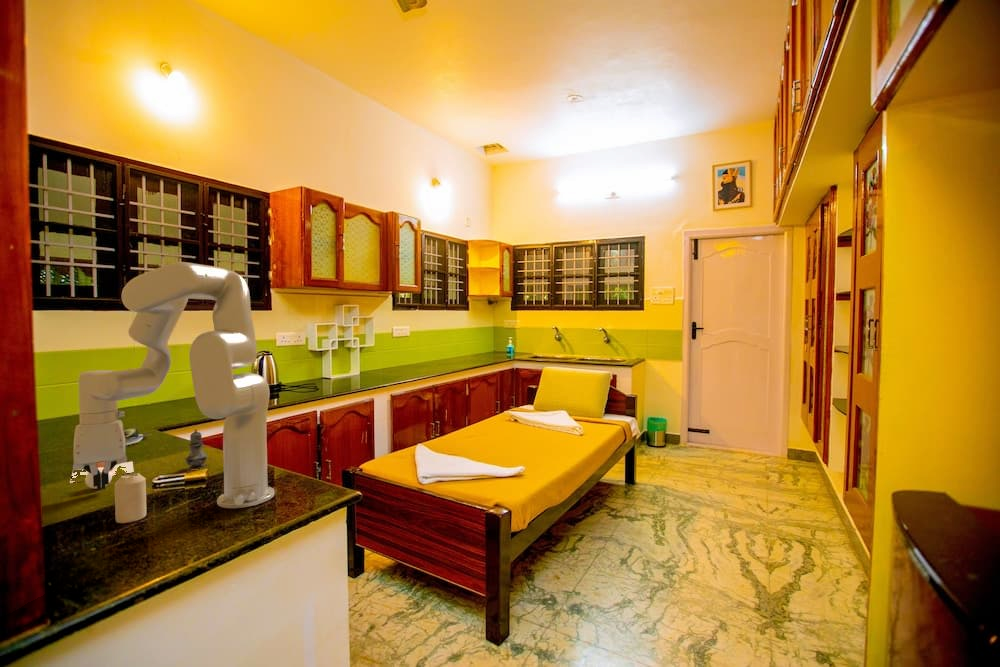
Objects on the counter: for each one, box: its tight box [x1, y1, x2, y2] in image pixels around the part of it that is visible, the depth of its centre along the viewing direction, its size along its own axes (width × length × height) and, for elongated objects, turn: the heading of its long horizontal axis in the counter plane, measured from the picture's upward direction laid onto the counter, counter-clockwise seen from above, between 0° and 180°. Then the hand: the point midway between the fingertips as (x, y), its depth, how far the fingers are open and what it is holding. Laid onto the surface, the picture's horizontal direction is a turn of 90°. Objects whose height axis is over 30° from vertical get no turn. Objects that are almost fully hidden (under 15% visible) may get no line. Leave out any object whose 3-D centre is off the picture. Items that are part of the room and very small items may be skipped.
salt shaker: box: [184, 429, 208, 471], centre depth 141 cm, size 6×6×12 cm
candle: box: [114, 472, 147, 524], centre depth 105 cm, size 6×6×10 cm
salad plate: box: [124, 427, 150, 447], centre depth 170 cm, size 19×18×5 cm
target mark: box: [69, 460, 135, 484], centre depth 138 cm, size 14×14×1 cm
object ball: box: [96, 462, 114, 471], centre depth 135 cm, size 6×6×6 cm
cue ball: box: [84, 467, 113, 490], centre depth 124 cm, size 6×6×6 cm
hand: (101, 488), depth 120 cm, fingers closed
